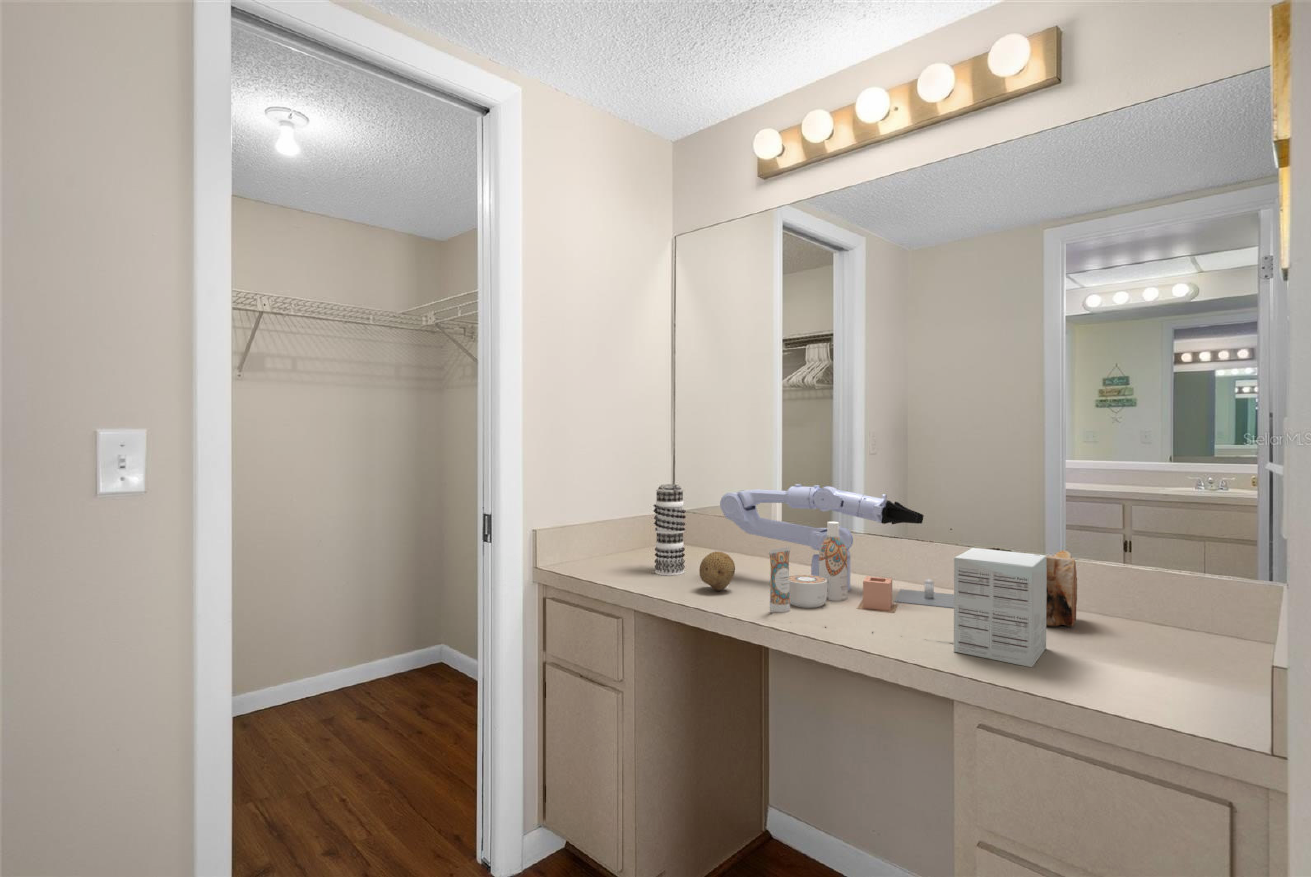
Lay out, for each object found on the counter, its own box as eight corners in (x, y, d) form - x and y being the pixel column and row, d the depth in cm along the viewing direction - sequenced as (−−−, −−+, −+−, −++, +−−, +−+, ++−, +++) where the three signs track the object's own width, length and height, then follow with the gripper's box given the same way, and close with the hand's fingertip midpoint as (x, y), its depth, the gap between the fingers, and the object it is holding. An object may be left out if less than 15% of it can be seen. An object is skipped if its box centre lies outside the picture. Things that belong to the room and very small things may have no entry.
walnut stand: (856, 612, 148) (856, 592, 148) (862, 603, 156) (862, 585, 156) (894, 616, 145) (894, 596, 145) (898, 607, 152) (898, 588, 152)
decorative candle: (648, 570, 193) (648, 484, 192) (676, 567, 196) (676, 483, 196) (661, 577, 184) (661, 486, 184) (691, 573, 188) (691, 485, 188)
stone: (1064, 635, 132) (1065, 559, 131) (1017, 624, 139) (1017, 552, 139) (1093, 622, 140) (1093, 551, 140) (1047, 613, 147) (1047, 545, 147)
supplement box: (971, 634, 132) (971, 546, 132) (1047, 648, 124) (1048, 554, 123) (951, 652, 122) (952, 556, 121) (1033, 668, 113) (1034, 566, 113)
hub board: (894, 605, 154) (894, 581, 154) (900, 593, 166) (900, 571, 165) (961, 612, 148) (961, 588, 148) (962, 599, 159) (962, 576, 159)
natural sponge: (722, 597, 162) (722, 556, 162) (692, 591, 167) (692, 552, 167) (741, 590, 169) (741, 550, 169) (711, 585, 174) (711, 547, 174)
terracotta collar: (863, 607, 149) (863, 581, 149) (866, 602, 154) (866, 576, 154) (889, 610, 146) (889, 583, 146) (892, 604, 152) (892, 578, 151)
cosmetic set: (784, 621, 142) (784, 533, 142) (754, 611, 149) (753, 528, 149) (857, 602, 157) (857, 523, 157) (826, 595, 164) (826, 519, 164)
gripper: (857, 488, 158) (917, 501, 151) (872, 492, 170) (928, 503, 163) (851, 518, 158) (911, 531, 151) (867, 519, 170) (922, 531, 163)
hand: (919, 519), depth 157 cm, fingers open, 7 cm apart
